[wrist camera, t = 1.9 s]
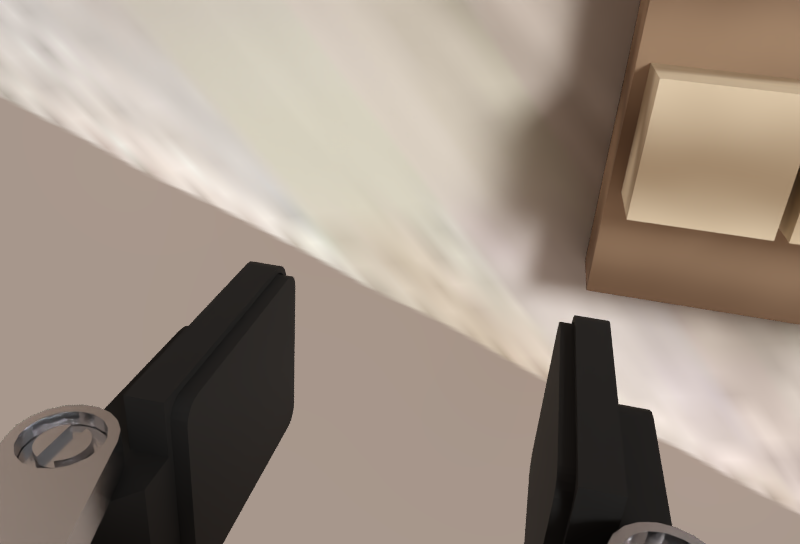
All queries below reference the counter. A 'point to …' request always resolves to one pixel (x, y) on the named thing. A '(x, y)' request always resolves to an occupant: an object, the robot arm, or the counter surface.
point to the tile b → (792, 214)
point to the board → (681, 247)
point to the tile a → (714, 151)
